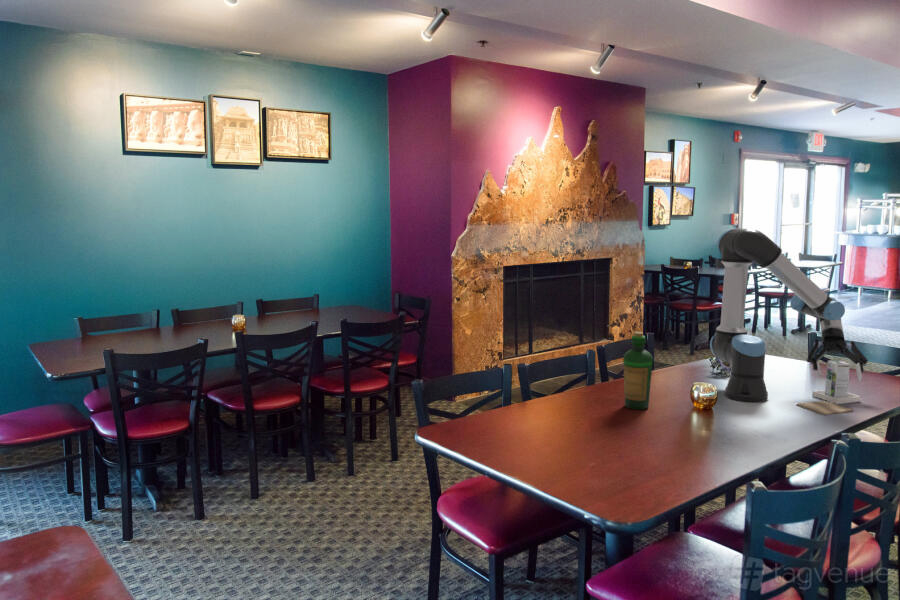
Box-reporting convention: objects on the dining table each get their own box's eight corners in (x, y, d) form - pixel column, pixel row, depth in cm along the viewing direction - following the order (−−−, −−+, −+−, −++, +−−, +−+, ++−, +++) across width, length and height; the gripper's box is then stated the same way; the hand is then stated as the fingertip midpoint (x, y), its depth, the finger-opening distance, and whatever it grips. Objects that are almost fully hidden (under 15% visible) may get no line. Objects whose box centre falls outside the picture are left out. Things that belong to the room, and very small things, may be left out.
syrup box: (824, 396, 247) (826, 360, 245) (840, 396, 246) (842, 360, 244) (831, 400, 241) (833, 363, 239) (847, 401, 241) (850, 363, 239)
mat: (823, 415, 225) (823, 413, 225) (796, 405, 236) (796, 403, 236) (852, 411, 228) (852, 409, 228) (824, 402, 240) (824, 400, 240)
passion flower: (726, 387, 280) (722, 369, 274) (704, 378, 289) (700, 360, 282) (741, 371, 284) (737, 352, 277) (719, 362, 292) (715, 344, 286)
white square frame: (836, 404, 237) (837, 399, 237) (812, 396, 247) (812, 391, 247) (860, 401, 240) (860, 396, 240) (834, 393, 250) (835, 388, 250)
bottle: (615, 405, 239) (617, 331, 235) (637, 401, 244) (639, 329, 240) (636, 412, 230) (638, 336, 226) (657, 408, 234) (660, 333, 231)
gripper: (865, 338, 253) (874, 385, 241) (795, 336, 261) (800, 381, 249) (870, 328, 247) (880, 375, 235) (798, 325, 255) (804, 371, 243)
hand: (839, 378), depth 242 cm, fingers open, 13 cm apart
